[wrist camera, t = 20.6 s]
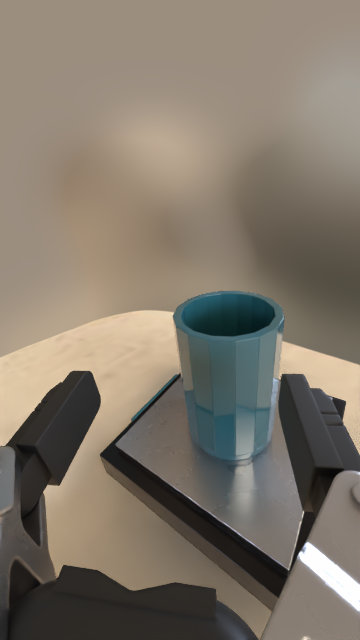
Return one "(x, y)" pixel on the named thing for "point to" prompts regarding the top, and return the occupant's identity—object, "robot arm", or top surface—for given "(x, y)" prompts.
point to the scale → (216, 493)
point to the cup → (229, 370)
